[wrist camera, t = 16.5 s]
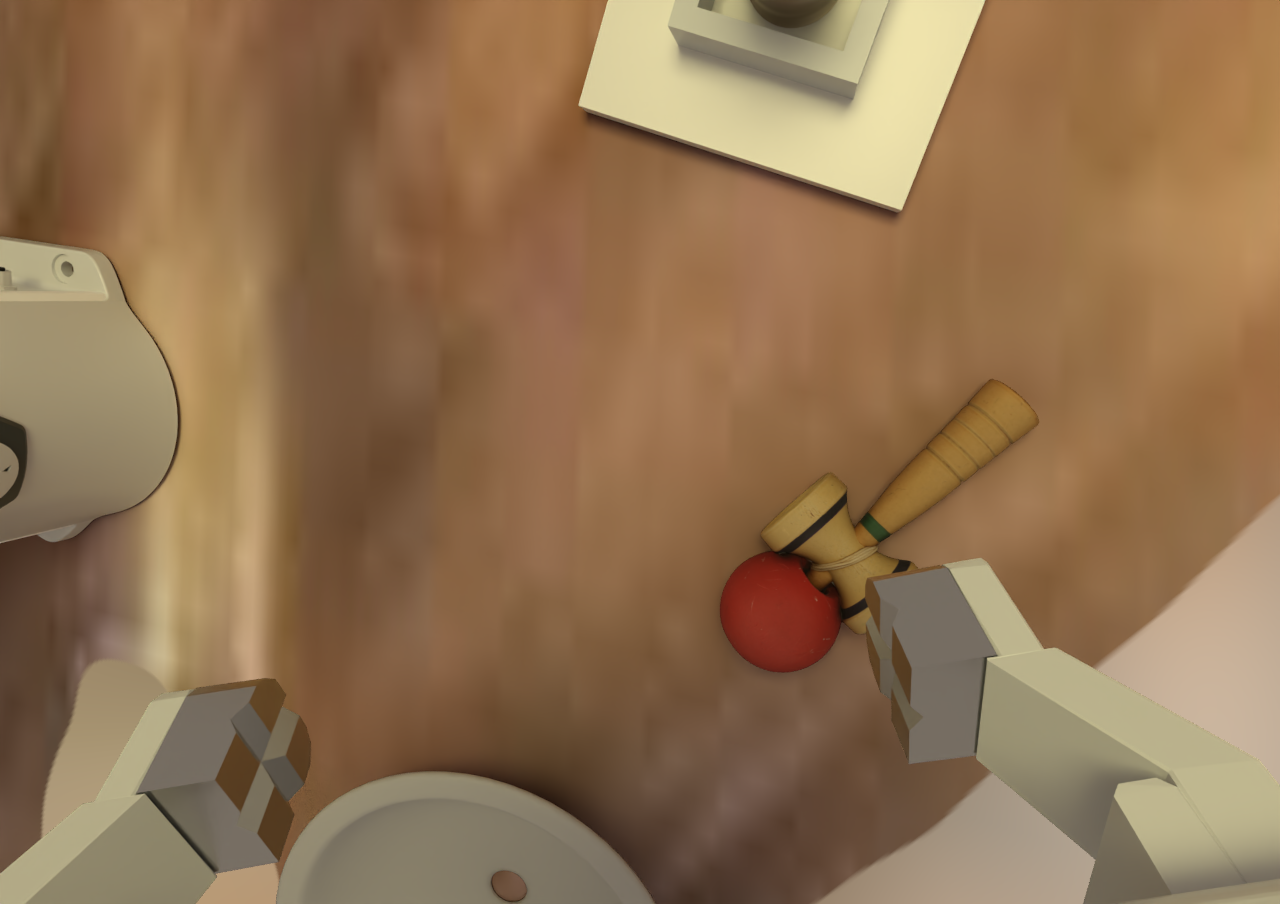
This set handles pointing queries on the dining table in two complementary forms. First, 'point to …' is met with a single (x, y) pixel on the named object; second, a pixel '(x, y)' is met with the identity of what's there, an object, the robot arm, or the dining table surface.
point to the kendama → (852, 541)
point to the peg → (793, 11)
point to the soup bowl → (451, 847)
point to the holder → (787, 85)
